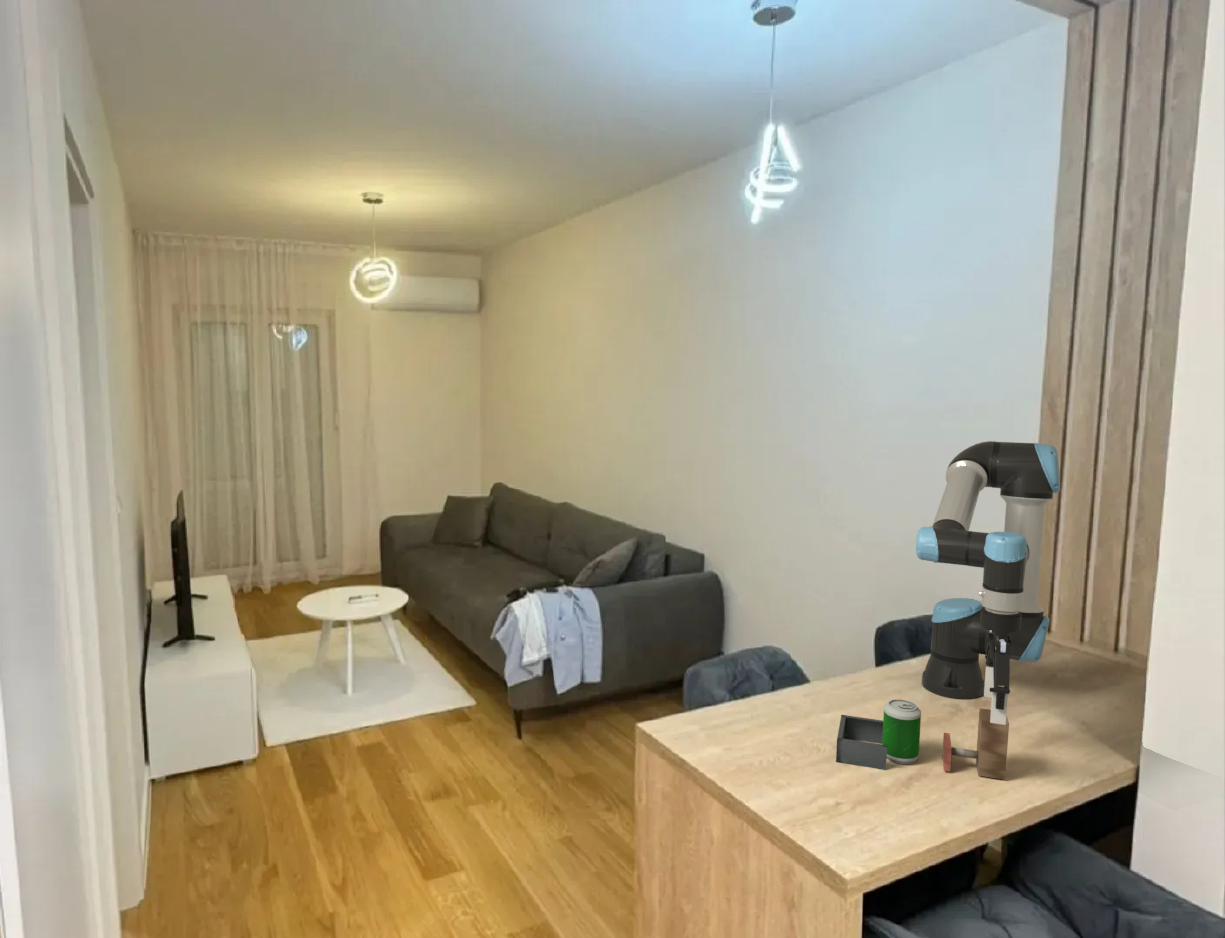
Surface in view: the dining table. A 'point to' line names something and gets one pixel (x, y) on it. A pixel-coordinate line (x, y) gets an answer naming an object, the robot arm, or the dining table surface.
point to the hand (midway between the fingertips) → (994, 709)
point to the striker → (983, 748)
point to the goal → (859, 750)
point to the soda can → (901, 731)
